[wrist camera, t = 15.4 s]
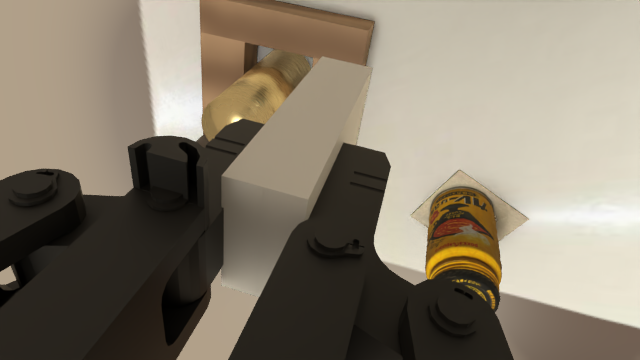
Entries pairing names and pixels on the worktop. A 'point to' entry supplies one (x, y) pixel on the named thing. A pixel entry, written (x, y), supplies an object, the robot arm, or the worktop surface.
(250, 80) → the brass cylinder
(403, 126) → the worktop surface
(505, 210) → the condiment
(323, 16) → the jig
